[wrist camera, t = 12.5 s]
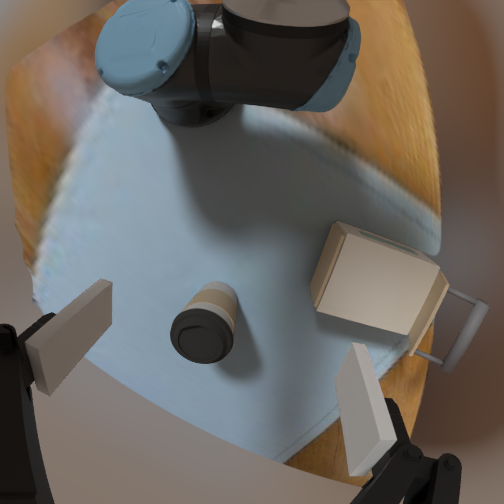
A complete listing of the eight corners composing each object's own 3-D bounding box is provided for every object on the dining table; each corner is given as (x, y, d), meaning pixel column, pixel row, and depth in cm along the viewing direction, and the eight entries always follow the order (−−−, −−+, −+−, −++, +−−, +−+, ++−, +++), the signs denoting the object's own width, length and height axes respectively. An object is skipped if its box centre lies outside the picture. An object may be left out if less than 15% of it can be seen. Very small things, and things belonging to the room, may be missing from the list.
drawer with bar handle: (446, 284, 33) (492, 306, 30) (439, 270, 40) (478, 289, 37) (408, 356, 36) (451, 375, 33) (408, 332, 43) (446, 349, 41)
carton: (332, 218, 49) (343, 230, 40) (418, 249, 49) (440, 266, 40) (307, 285, 52) (312, 309, 44) (391, 310, 52) (407, 335, 44)
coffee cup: (250, 314, 55) (240, 366, 41) (204, 326, 56) (182, 376, 42) (233, 269, 53) (215, 310, 38) (185, 282, 54) (155, 324, 40)
